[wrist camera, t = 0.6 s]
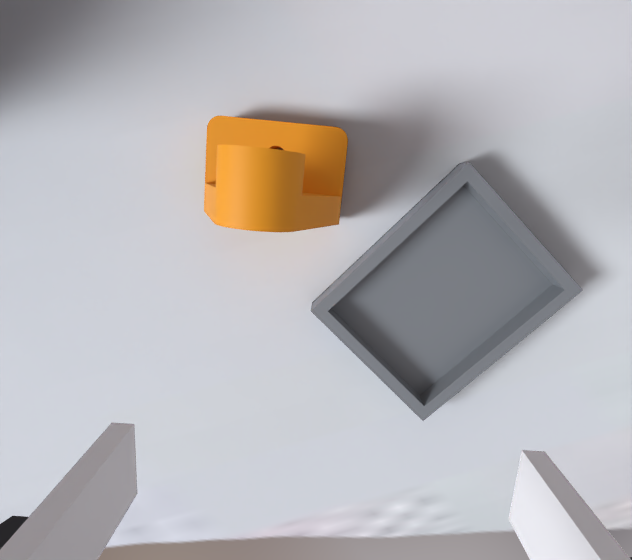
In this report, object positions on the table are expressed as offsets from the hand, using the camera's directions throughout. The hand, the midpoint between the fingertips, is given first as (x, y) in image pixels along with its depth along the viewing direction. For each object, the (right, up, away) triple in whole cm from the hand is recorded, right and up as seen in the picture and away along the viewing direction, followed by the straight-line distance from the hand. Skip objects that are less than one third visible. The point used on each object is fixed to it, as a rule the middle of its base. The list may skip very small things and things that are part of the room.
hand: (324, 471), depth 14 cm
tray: (+10, +5, +23) cm, 26 cm away
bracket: (-3, +16, +21) cm, 27 cm away
